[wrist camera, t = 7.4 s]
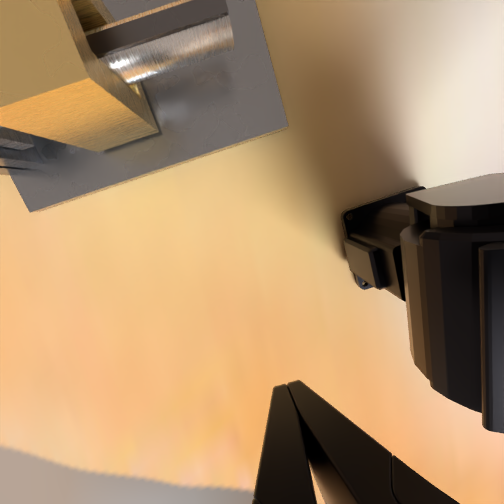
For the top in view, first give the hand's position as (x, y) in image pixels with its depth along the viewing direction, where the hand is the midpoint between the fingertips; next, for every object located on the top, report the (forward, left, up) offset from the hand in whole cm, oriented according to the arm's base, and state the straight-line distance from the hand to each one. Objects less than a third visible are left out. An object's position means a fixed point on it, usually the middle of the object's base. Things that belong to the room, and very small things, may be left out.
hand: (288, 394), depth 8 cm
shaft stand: (+3, -14, -13) cm, 19 cm away
